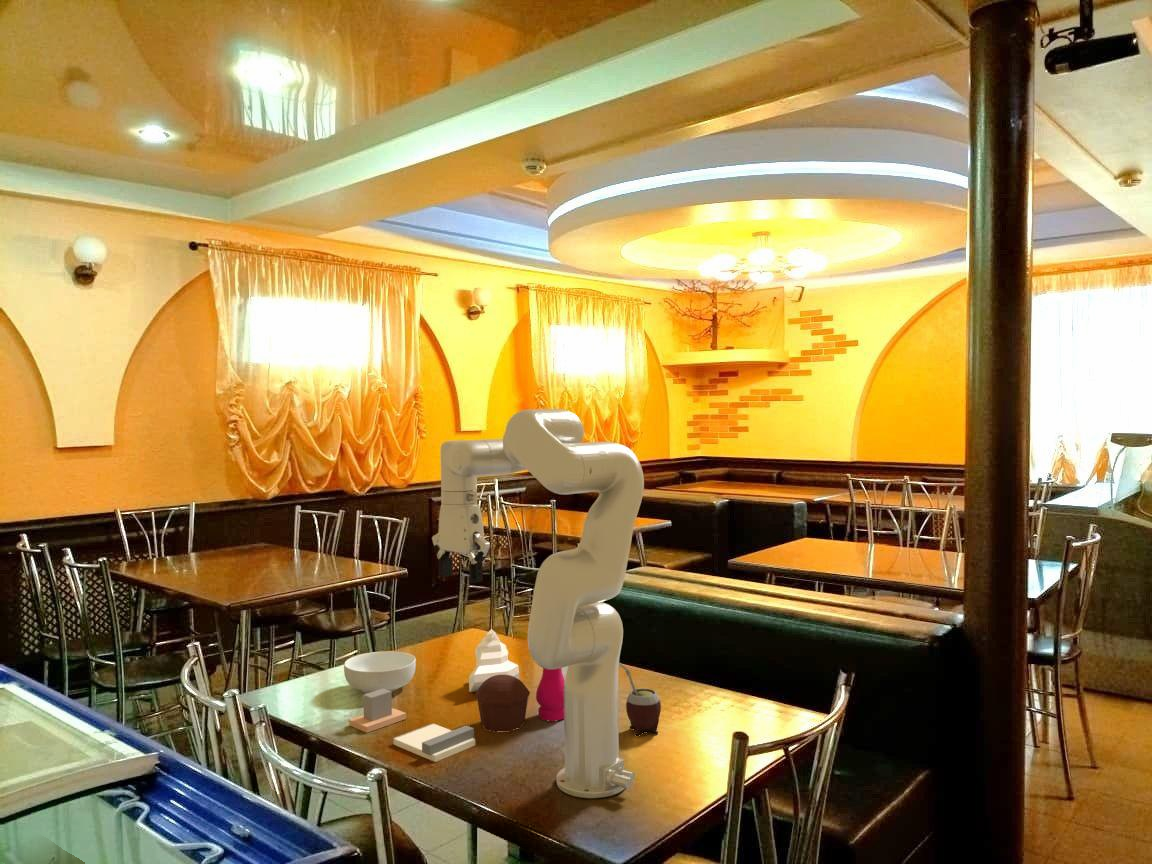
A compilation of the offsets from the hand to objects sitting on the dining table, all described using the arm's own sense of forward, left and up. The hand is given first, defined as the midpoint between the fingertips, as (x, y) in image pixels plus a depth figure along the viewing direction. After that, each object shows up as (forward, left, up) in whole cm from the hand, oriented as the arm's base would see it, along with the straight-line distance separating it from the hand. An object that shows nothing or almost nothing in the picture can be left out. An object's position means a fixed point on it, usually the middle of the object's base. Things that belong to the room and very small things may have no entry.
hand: (460, 579), depth 173 cm
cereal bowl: (+31, -1, -31) cm, 44 cm away
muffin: (-8, -4, -31) cm, 32 cm away
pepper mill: (-13, -14, -31) cm, 36 cm away
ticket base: (-5, +12, -30) cm, 33 cm away
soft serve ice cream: (+12, -19, -31) cm, 38 cm away
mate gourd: (-33, -19, -31) cm, 49 cm away
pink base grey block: (+14, +12, -30) cm, 35 cm away
